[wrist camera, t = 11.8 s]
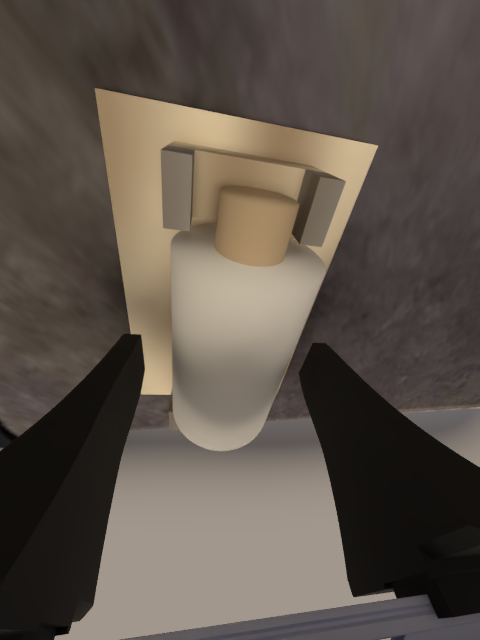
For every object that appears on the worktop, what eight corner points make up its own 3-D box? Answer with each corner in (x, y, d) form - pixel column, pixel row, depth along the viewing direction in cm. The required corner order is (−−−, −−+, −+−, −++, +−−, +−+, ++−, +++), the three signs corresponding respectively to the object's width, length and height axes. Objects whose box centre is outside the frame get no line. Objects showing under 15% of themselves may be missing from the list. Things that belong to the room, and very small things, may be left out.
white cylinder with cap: (299, 186, 10) (387, 233, 6) (246, 379, 18) (272, 454, 14) (165, 168, 9) (177, 217, 5) (170, 388, 16) (176, 476, 12)
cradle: (367, 144, 10) (437, 155, 7) (274, 386, 20) (286, 436, 17) (102, 90, 8) (42, 74, 5) (142, 384, 18) (128, 439, 15)
